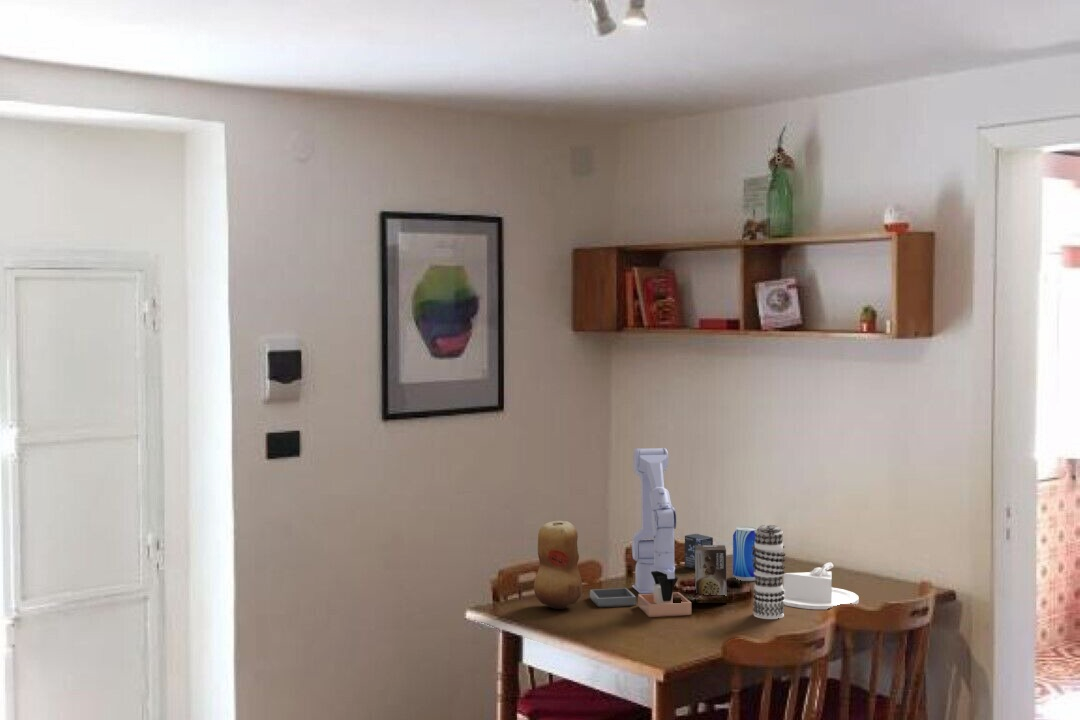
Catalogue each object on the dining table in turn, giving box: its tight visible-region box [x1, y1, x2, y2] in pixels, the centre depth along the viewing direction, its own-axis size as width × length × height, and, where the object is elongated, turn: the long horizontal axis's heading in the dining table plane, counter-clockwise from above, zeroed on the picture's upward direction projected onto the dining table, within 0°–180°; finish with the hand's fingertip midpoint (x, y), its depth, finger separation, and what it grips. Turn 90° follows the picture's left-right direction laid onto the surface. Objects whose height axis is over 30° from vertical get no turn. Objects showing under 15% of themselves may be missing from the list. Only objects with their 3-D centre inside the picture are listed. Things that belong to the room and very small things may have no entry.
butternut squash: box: [533, 520, 583, 610], centre depth 357 cm, size 14×13×25 cm
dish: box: [782, 561, 860, 610], centre depth 365 cm, size 25×25×11 cm
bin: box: [637, 591, 692, 618], centre depth 353 cm, size 12×12×4 cm
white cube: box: [653, 584, 674, 604], centre depth 353 cm, size 4×4×5 cm
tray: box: [589, 587, 637, 608], centre depth 364 cm, size 11×11×2 cm
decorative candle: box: [752, 524, 786, 620], centre depth 347 cm, size 9×9×25 cm
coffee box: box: [694, 544, 728, 596], centre depth 363 cm, size 9×6×16 cm
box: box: [684, 533, 714, 570], centre depth 408 cm, size 8×6×11 cm
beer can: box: [732, 525, 758, 582], centre depth 392 cm, size 8×8×16 cm
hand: (664, 598), depth 353 cm, fingers closed on white cube, 5 cm apart
